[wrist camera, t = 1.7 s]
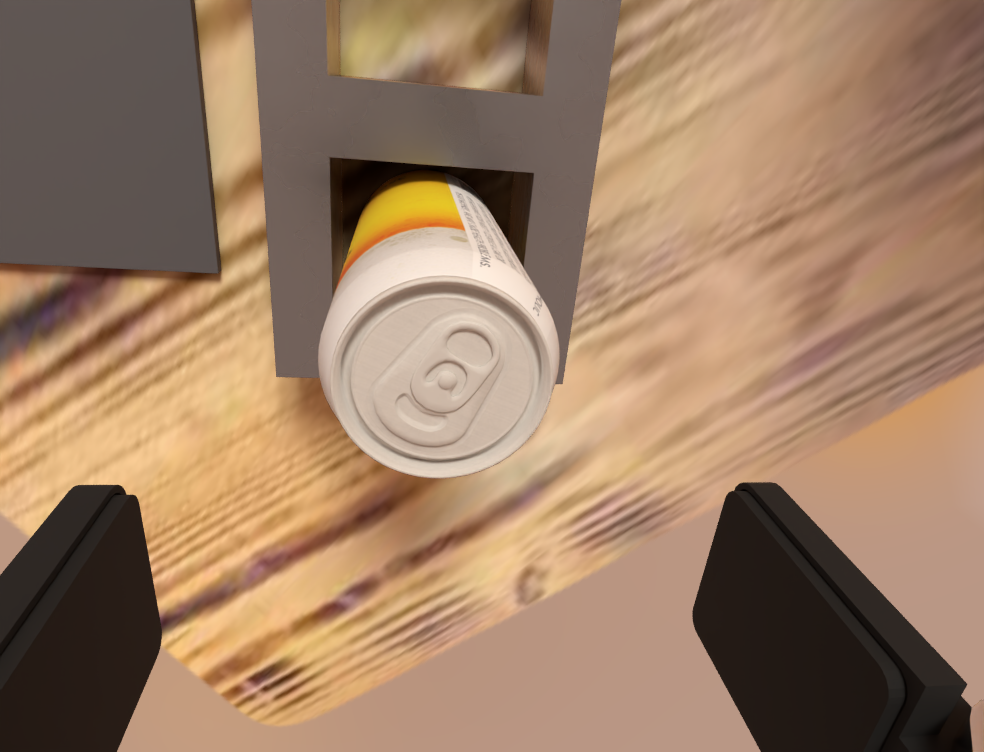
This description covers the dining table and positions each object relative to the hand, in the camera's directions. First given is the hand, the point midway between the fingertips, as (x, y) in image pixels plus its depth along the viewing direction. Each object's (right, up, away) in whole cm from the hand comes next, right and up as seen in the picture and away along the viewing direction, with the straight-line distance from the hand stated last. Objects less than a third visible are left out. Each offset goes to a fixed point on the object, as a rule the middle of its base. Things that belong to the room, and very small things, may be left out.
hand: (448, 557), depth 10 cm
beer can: (-2, +9, +18) cm, 21 cm away
